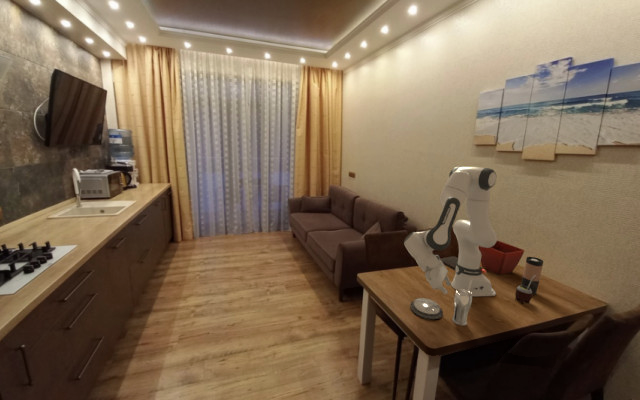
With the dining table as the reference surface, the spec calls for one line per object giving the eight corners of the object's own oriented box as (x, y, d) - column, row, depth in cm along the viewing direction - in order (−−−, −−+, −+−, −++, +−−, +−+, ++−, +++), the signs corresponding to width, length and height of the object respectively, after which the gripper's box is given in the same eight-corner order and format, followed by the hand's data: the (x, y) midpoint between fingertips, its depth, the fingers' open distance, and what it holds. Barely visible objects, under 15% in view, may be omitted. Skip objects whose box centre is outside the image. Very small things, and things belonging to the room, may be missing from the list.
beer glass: (467, 319, 126) (472, 290, 124) (468, 328, 120) (473, 298, 117) (451, 315, 129) (455, 286, 126) (451, 323, 123) (455, 293, 120)
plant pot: (500, 278, 170) (505, 253, 167) (473, 265, 188) (477, 242, 184) (520, 274, 177) (525, 250, 174) (493, 262, 194) (497, 240, 191)
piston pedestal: (436, 302, 139) (437, 297, 139) (447, 321, 125) (448, 315, 124) (406, 300, 140) (407, 295, 140) (414, 318, 126) (415, 312, 125)
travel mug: (537, 291, 155) (544, 259, 151) (535, 296, 150) (543, 263, 146) (520, 286, 160) (527, 255, 156) (518, 291, 155) (525, 259, 151)
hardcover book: (453, 259, 198) (454, 256, 198) (483, 272, 178) (483, 269, 177) (437, 261, 192) (438, 258, 192) (465, 276, 171) (466, 273, 171)
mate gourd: (514, 302, 143) (519, 276, 141) (514, 295, 150) (519, 270, 147) (531, 307, 139) (537, 280, 136) (530, 300, 146) (536, 274, 143)
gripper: (429, 268, 119) (450, 295, 115) (438, 254, 135) (457, 278, 132) (418, 274, 122) (438, 301, 119) (428, 260, 139) (446, 283, 135)
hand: (448, 289), depth 125 cm, fingers open, 8 cm apart
